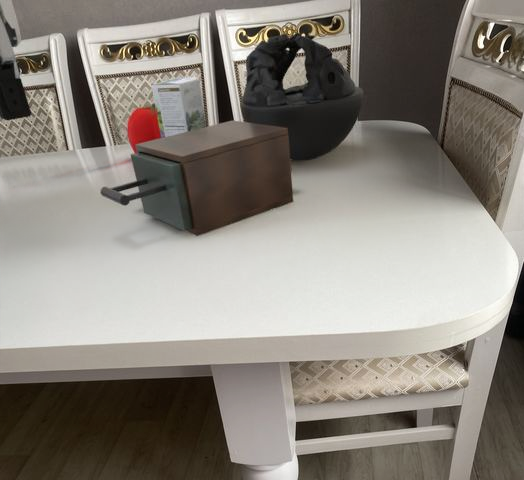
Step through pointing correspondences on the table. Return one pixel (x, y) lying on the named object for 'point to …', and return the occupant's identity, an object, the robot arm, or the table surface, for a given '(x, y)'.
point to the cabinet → (229, 170)
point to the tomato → (143, 126)
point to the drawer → (156, 190)
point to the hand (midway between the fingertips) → (16, 117)
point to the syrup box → (178, 105)
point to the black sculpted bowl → (301, 95)
